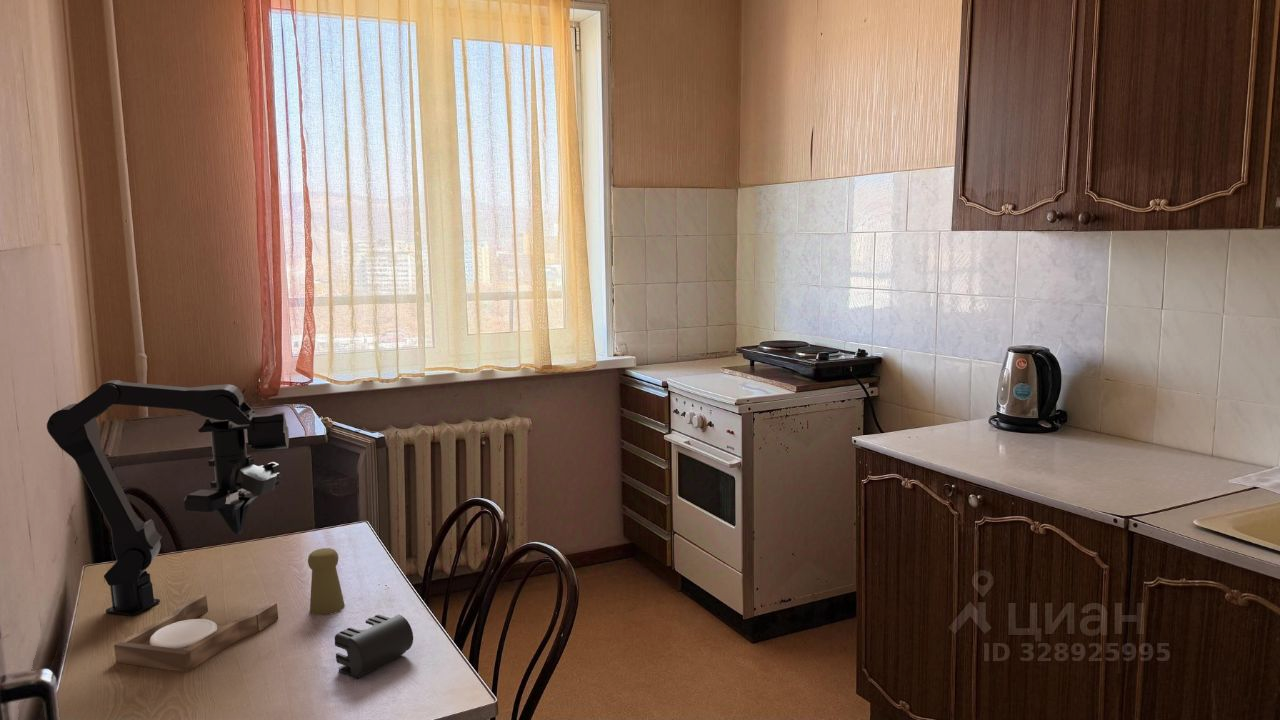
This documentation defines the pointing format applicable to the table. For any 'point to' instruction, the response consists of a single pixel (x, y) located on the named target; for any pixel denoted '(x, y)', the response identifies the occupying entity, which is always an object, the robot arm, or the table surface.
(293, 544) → the table surface
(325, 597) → the cork
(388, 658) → the end cap
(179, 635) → the coaster
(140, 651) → the wooden u-shaped frame
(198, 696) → the table surface
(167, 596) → the table surface
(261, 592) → the table surface
